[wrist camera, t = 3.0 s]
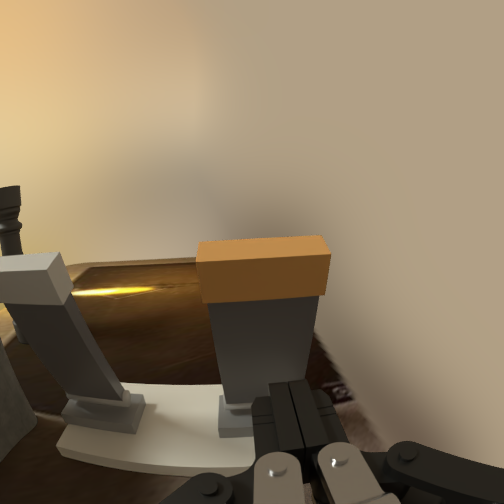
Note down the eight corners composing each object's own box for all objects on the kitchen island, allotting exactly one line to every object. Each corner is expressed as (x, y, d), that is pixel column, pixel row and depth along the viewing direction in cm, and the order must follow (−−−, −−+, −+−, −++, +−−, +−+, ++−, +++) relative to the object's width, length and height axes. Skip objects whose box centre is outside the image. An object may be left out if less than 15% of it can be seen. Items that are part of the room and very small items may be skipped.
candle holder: (41, 343, 37) (11, 185, 31) (13, 344, 35) (-18, 192, 29) (51, 327, 43) (26, 185, 37) (25, 328, 41) (-1, 191, 35)
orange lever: (301, 407, 22) (331, 253, 14) (225, 413, 22) (195, 261, 14) (297, 390, 24) (321, 235, 15) (224, 396, 24) (198, 241, 15)
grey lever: (129, 411, 22) (46, 269, 13) (71, 403, 21) (-18, 272, 13) (132, 394, 23) (59, 251, 15) (75, 388, 23) (-5, 257, 14)
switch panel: (317, 468, 18) (320, 448, 18) (59, 455, 17) (47, 435, 17) (294, 389, 29) (295, 369, 28) (96, 390, 28) (88, 370, 27)
